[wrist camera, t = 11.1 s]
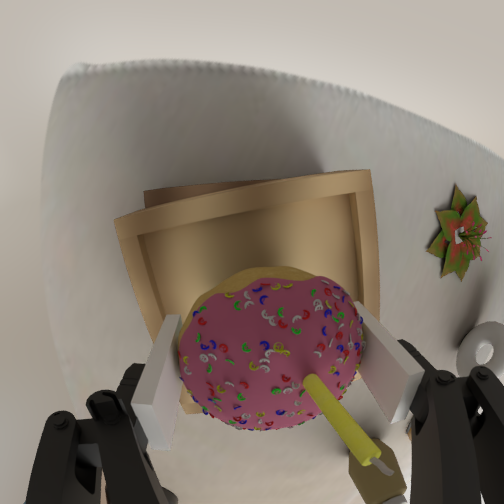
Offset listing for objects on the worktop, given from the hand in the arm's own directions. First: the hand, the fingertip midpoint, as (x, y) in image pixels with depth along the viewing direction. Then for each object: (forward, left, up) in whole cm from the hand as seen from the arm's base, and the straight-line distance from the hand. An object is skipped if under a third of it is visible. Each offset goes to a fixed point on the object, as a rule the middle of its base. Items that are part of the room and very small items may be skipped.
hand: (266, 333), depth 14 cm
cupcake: (0, 0, -2) cm, 2 cm away
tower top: (0, 0, -7) cm, 7 cm away
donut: (+32, -14, -12) cm, 37 cm away
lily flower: (+25, +2, -12) cm, 28 cm away
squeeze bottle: (+18, -34, -12) cm, 40 cm away
